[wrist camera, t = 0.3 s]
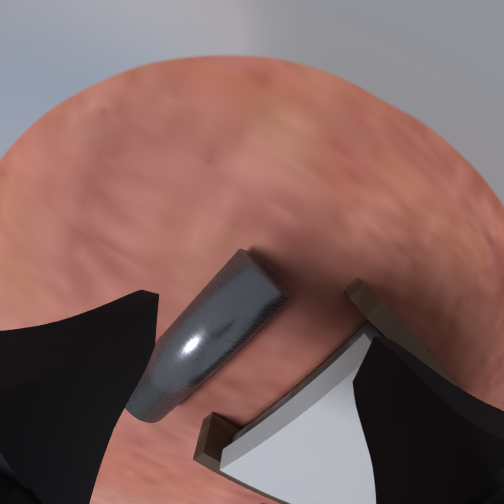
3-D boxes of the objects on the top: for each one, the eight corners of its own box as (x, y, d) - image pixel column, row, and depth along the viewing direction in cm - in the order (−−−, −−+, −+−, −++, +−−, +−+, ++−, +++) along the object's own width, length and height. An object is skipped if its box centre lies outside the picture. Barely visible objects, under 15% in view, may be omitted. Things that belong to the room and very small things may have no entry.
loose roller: (169, 399, 22) (157, 432, 18) (128, 368, 21) (110, 399, 17) (287, 284, 20) (295, 308, 16) (240, 243, 19) (237, 257, 15)
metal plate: (348, 508, 19) (352, 524, 17) (222, 449, 18) (219, 469, 16) (461, 426, 17) (472, 440, 15) (364, 333, 16) (375, 349, 14)
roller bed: (379, 507, 24) (388, 535, 19) (203, 419, 22) (192, 459, 17) (488, 422, 22) (508, 446, 17) (356, 277, 19) (381, 300, 15)
